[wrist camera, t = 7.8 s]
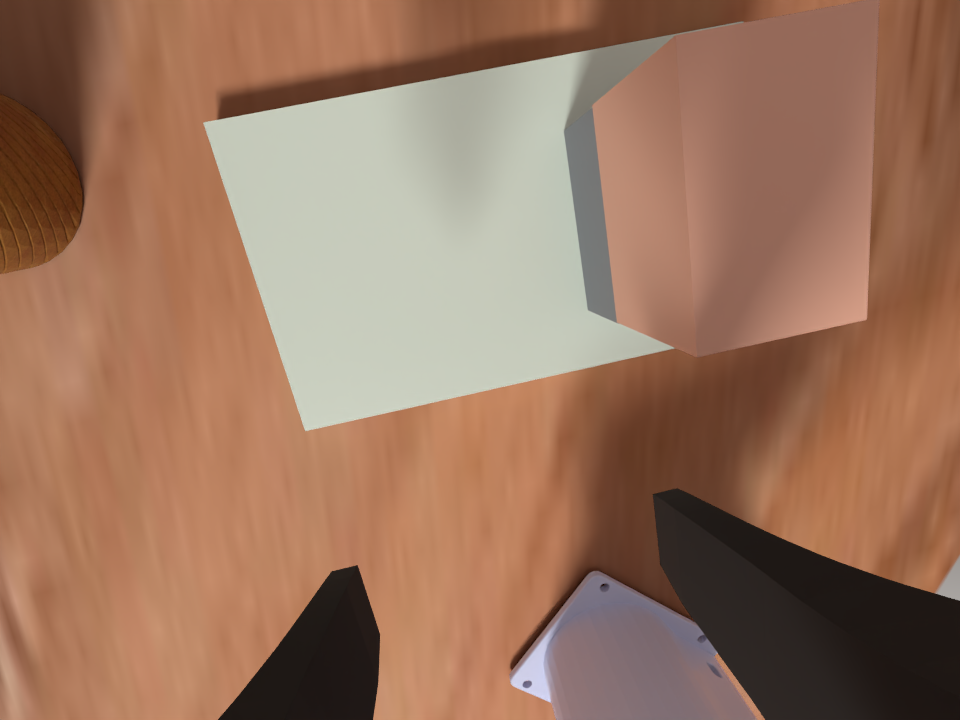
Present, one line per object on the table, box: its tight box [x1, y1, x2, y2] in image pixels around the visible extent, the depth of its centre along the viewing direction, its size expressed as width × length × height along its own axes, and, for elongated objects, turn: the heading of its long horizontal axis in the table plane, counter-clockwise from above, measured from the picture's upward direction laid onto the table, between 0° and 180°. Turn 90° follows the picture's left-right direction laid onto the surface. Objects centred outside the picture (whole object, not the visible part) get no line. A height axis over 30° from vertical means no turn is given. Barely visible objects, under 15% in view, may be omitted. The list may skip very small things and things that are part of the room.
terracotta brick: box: [592, 0, 879, 357], centre depth 13 cm, size 4×7×5 cm, turn 10°
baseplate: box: [204, 21, 743, 431], centre depth 19 cm, size 20×12×1 cm, turn 101°
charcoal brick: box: [564, 108, 619, 324], centre depth 17 cm, size 4×7×3 cm, turn 11°
